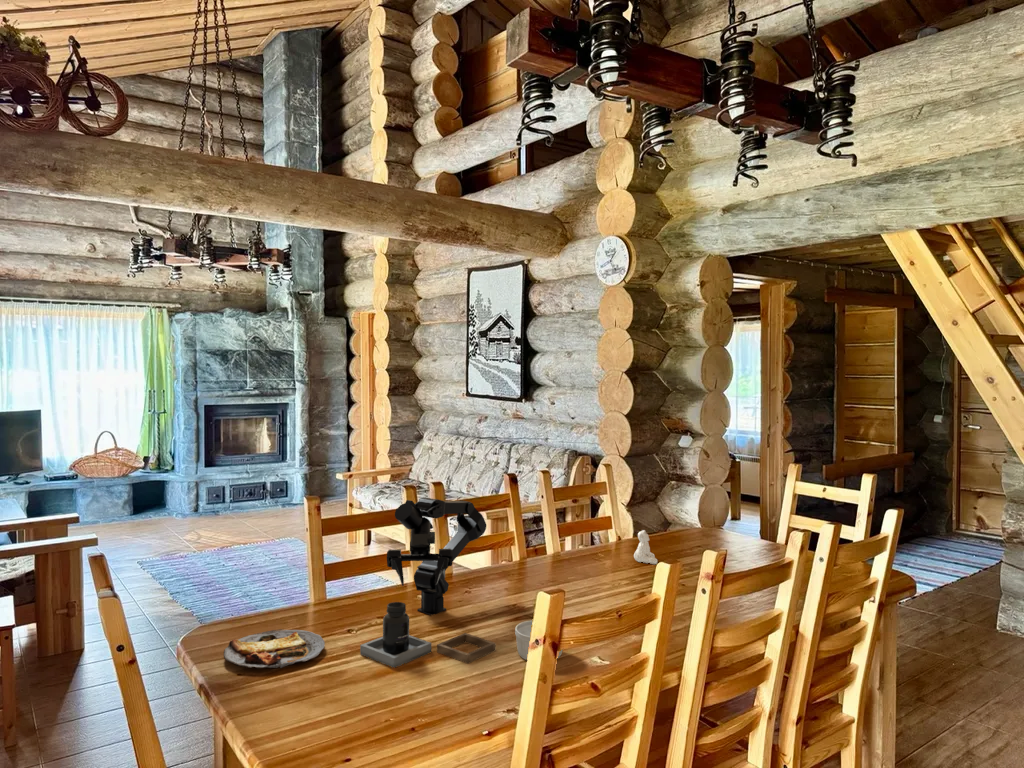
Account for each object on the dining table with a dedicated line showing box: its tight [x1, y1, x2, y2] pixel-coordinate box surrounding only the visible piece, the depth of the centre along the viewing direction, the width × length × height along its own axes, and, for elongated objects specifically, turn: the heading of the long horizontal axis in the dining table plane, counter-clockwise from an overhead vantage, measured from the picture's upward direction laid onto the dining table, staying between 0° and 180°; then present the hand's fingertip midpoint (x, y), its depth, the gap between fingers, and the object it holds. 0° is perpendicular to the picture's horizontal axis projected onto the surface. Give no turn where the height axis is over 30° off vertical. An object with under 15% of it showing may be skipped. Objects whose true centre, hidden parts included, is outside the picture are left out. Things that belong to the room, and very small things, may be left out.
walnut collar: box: [436, 632, 497, 664], centre depth 194 cm, size 11×11×2 cm
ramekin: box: [514, 620, 563, 661], centre depth 193 cm, size 13×13×7 cm
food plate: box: [223, 628, 326, 669], centre depth 191 cm, size 25×23×4 cm
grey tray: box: [359, 634, 433, 669], centre depth 192 cm, size 13×13×2 cm
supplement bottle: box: [382, 601, 410, 654], centre depth 192 cm, size 7×7×12 cm
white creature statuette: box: [633, 529, 658, 565], centre depth 283 cm, size 10×9×12 cm
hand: (419, 584), depth 206 cm, fingers open, 9 cm apart
